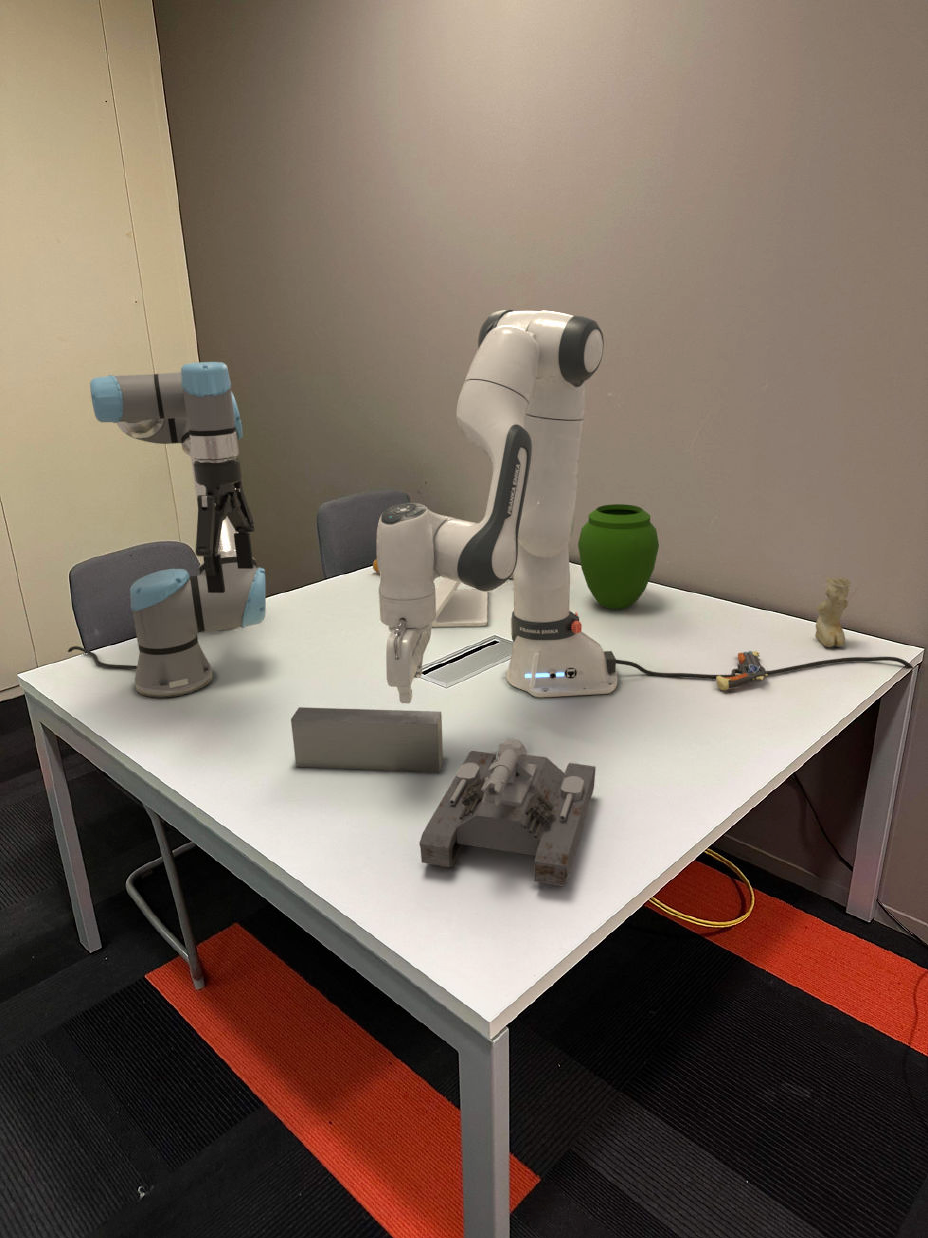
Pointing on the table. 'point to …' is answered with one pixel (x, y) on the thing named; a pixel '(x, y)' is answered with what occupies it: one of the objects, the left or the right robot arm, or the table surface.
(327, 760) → the bar
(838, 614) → the sculpture
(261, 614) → the left robot arm
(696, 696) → the table surface
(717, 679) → the toy gun
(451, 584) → the tablet stand
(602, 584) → the vase
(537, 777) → the toy
